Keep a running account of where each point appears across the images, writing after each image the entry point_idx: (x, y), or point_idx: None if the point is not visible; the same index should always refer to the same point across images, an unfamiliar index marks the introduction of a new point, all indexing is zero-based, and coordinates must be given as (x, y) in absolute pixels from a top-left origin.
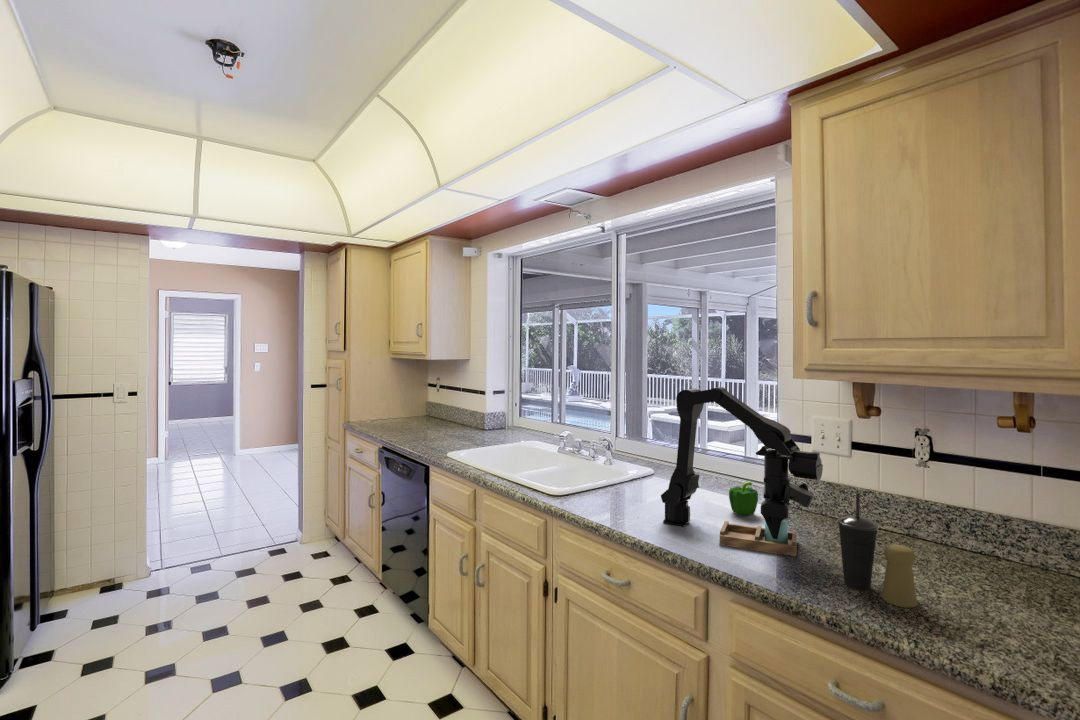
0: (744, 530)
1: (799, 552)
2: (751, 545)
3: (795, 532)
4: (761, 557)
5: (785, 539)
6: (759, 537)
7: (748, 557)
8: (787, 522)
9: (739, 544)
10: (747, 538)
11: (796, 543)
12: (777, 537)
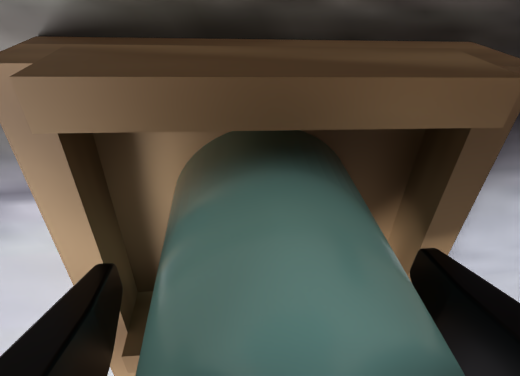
0: None
1: (350, 8)
2: None
3: (106, 92)
4: (491, 240)
5: (340, 175)
6: None
7: (493, 284)
8: (374, 332)
9: None
10: None
11: (202, 46)
12: (447, 257)
